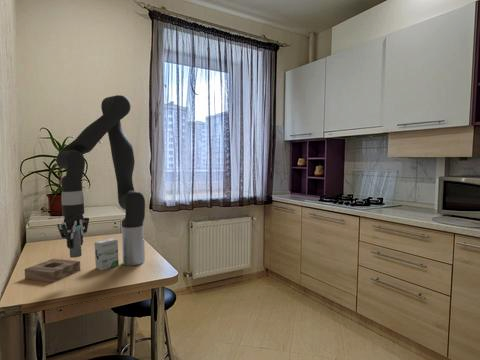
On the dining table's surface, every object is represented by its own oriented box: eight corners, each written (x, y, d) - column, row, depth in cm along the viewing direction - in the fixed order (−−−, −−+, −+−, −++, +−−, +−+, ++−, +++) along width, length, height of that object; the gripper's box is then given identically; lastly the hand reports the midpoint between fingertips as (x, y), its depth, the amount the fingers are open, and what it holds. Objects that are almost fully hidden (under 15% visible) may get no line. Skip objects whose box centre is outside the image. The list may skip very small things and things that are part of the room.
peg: (75, 253, 126) (73, 224, 125) (84, 254, 125) (82, 224, 124) (67, 257, 122) (65, 226, 121) (76, 258, 121) (74, 227, 120)
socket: (54, 267, 140) (53, 258, 140) (80, 270, 137) (80, 261, 136) (25, 278, 127) (24, 269, 127) (53, 282, 123) (52, 272, 123)
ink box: (113, 263, 146) (112, 237, 145) (119, 265, 143) (118, 239, 142) (94, 268, 139) (93, 241, 139) (100, 270, 136) (99, 243, 136)
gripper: (66, 206, 114) (69, 252, 115) (94, 200, 128) (96, 242, 129) (49, 205, 116) (52, 251, 117) (78, 199, 130) (81, 241, 131)
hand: (75, 246), depth 123 cm, fingers closed on peg, 4 cm apart
